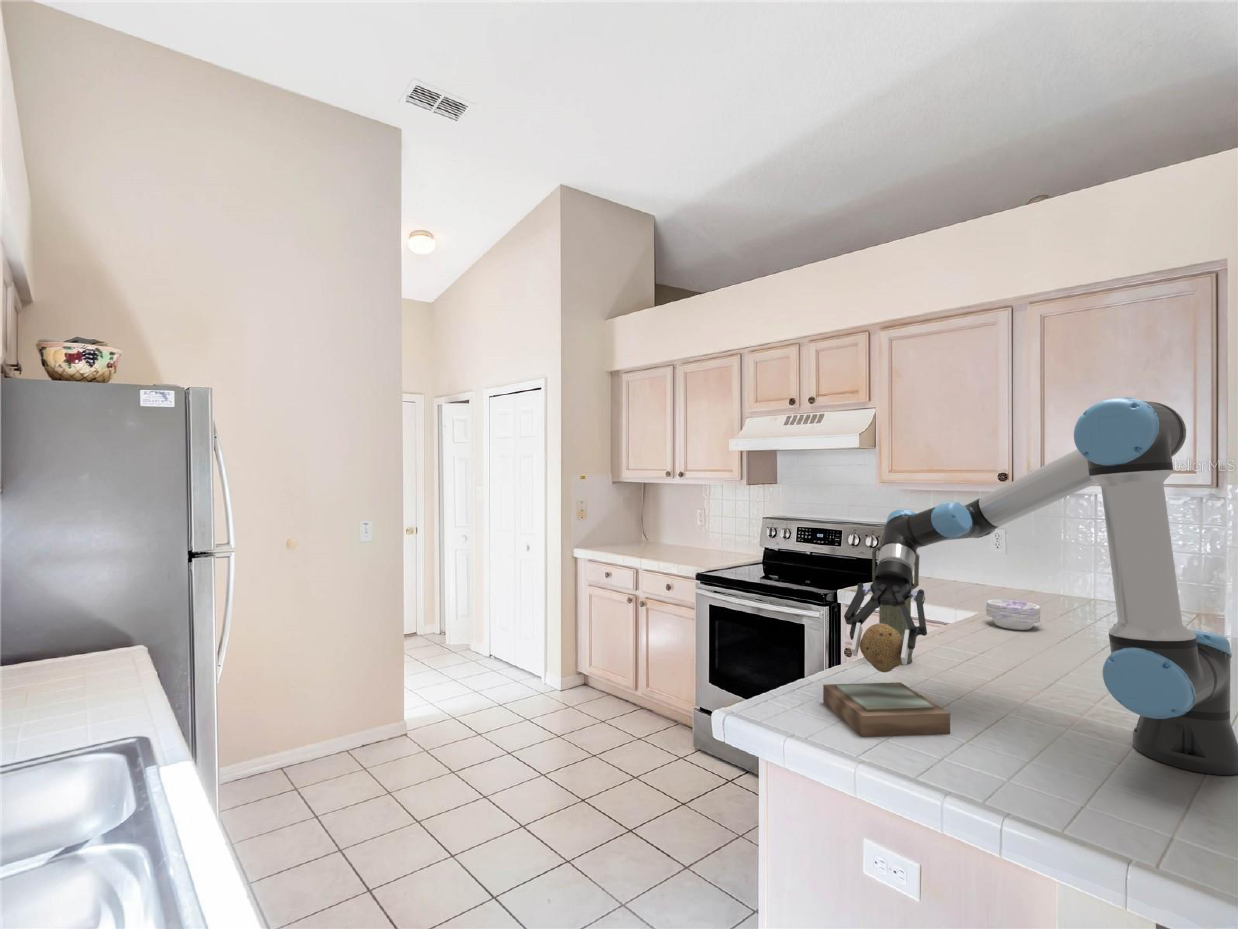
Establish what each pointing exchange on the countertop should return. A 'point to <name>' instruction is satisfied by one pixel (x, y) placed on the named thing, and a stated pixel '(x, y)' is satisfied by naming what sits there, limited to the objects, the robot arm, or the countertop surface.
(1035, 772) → the countertop surface
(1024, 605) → the paper bowls
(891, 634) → the brown rounded lump
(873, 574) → the thermos
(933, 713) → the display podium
